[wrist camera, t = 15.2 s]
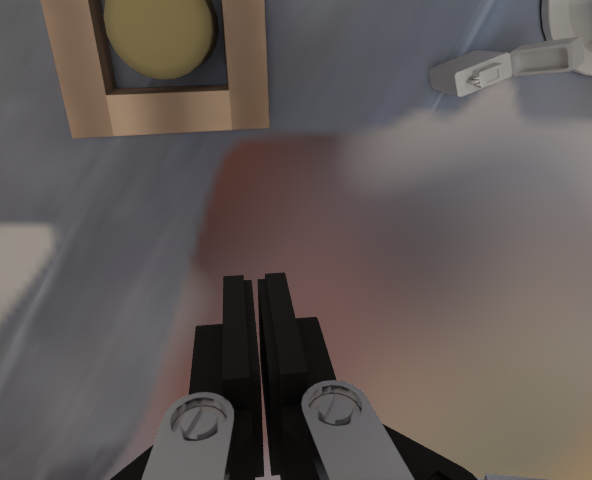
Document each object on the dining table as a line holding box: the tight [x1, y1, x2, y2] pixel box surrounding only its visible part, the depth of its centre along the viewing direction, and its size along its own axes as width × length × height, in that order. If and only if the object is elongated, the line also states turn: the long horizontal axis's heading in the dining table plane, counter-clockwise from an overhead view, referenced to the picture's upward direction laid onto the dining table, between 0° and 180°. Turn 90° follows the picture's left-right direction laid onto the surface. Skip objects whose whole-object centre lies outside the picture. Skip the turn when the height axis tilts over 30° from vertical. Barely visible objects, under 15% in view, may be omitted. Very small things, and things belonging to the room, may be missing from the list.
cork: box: [103, 0, 219, 79], centre depth 26 cm, size 6×6×11 cm
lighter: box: [428, 36, 584, 97], centre depth 32 cm, size 7×2×8 cm, turn 110°
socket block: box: [41, 0, 270, 138], centre depth 29 cm, size 13×13×4 cm
